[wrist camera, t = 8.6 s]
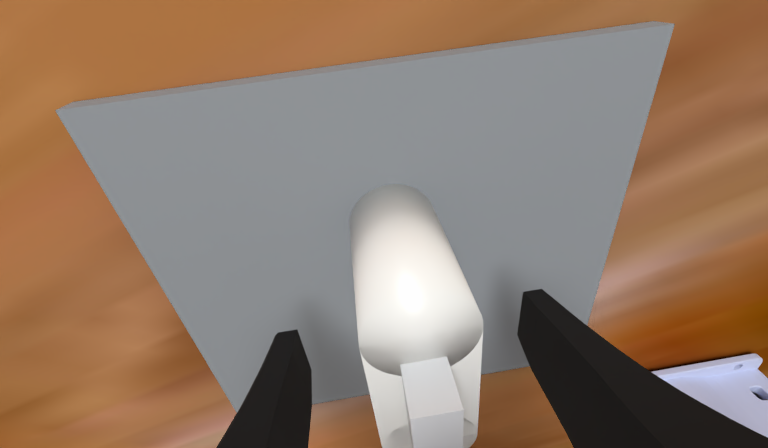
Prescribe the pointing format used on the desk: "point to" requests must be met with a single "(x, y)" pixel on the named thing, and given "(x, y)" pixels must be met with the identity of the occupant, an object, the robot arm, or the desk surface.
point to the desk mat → (376, 186)
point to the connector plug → (414, 322)
